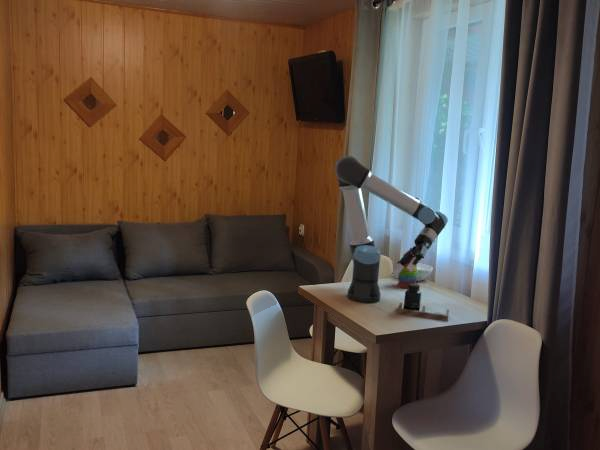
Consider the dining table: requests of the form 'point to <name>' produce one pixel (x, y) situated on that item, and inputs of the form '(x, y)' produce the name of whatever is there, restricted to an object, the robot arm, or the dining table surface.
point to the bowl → (423, 271)
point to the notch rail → (423, 313)
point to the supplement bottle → (412, 297)
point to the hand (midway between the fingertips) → (401, 272)
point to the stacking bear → (407, 276)
